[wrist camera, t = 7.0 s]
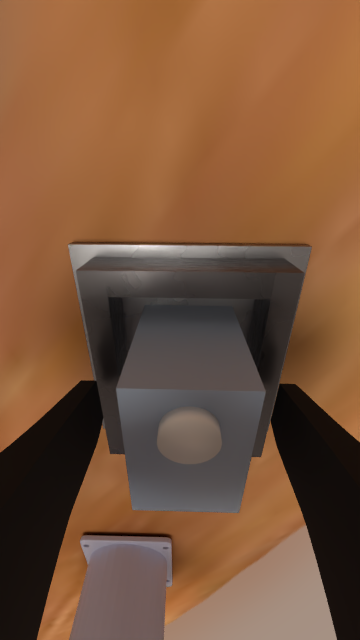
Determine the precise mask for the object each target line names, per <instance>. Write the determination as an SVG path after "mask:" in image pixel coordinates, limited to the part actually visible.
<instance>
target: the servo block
mask: <svg viewBox="0 0 360 640" xmlns="http://www.w3.org/2000/svg"><path fill="white" fill-rule="evenodd" d="M116 392H117V399H118V407H119V414H120V421H121V429H122V436H123V444H124V451H125V458H126V466H127V473H128V480H129V488H130V495H131V502H132V510H154V511H190V512H225V513H239V511H240V506H241V501H242V497H243V492H244V488H245V483H246V479H247V474H248V470H249V465H250V461H251V456H252V452H253V447H254V443H255V438H256V434H257V429H258V425H259V420H260V416H261V411H262V407H263V402H264V398H265V393H266V391H265V388H264V386H263V383H262V381H261V378H260V375H259V373H258V370H257V368H256V365H255V363H254V360H253V358H252V355H251V353H250V350H249V348H248V345H247V343H246V340H245V337H244V335H243V332H242V330H241V327H240V325H239V322H238V320H237V317H236V315H235V312H234V310H233V307H232V306H192V305H145V306H144V309H143V312H142V315H141V318H140V320H139V323H138V326H137V329H136V332H135V335H134V338H133V341H132V344H131V346H130V349H129V352H128V355H127V358H126V361H125V364H124V367H123V369H122V372H121V375H120V378H119V381H118V384H117V387H116Z"/></svg>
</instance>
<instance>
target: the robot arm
mask: <svg viewBox="0 0 360 640" xmlns="http://www.w3.org/2000/svg"><path fill="white" fill-rule="evenodd" d="M102 422H103V412H102V407H101V402H100V396H99V391H98V386H97V381H82V380H81V381H80V382H79V383H78V384H77V385H76V386H75V387H74V388H73V389H72V390H71V391H69V392H68V393H67V394H66V395H65V396H64V397H63V398H62V399H61V400H60V401H59V402H58V403H57V404H56V405H55V406H54V407H53V408H52V409H50V410H49V411H48V412H47V413H46V414H45V415H44V416H43V417H42V418H41V419H40V420H38V421H37V422H36V423H35V424H34V425H33V426H32V427H31V428H29V429H28V430H27V431H26V432H25V433H24V434H22V435H21V436H20V437H19V438H18V439H17V440H15V441H14V442H13V443H12V444H11V445H9V446H8V447H7V448H6V449H4V450H3V451H2V452H1V453H0V640H37V636H38V632H39V628H40V624H41V620H42V616H43V612H44V608H45V604H46V600H47V596H48V592H49V588H50V585H51V581H52V577H53V574H54V570H55V566H56V562H57V559H58V555H59V552H60V548H61V545H62V541H63V538H64V534H65V531H66V527H67V524H68V520H69V517H70V514H71V511H72V509H73V506H74V503H75V500H76V498H77V495H78V492H79V490H80V487H81V485H82V482H83V479H84V477H85V474H86V471H87V469H88V466H89V464H90V461H91V458H92V456H93V453H94V450H95V448H96V445H97V442H98V438H99V434H100V430H101V426H102ZM271 424H272V429H273V433H274V437H275V441H276V444H277V448H278V450H279V453H280V456H281V459H282V461H283V464H284V467H285V469H286V472H287V474H288V477H289V480H290V482H291V485H292V487H293V490H294V493H295V495H296V498H297V501H298V503H299V506H300V508H301V511H302V514H303V517H304V520H305V523H306V526H307V529H308V532H309V536H310V539H311V543H312V546H313V550H314V553H315V556H316V560H317V563H318V567H319V571H320V575H321V579H322V582H323V586H324V590H325V593H326V597H327V601H328V605H329V609H330V613H331V617H332V621H333V625H334V629H335V633H336V637H337V640H360V442H359V441H357V440H356V439H355V438H354V437H353V436H352V435H350V434H349V433H348V432H347V431H346V430H345V429H344V428H342V427H341V426H340V425H339V424H338V423H337V422H336V421H335V420H333V419H332V418H331V417H330V416H329V415H328V414H327V413H326V412H325V411H324V410H323V409H322V408H320V407H319V406H318V405H317V404H316V403H315V402H314V401H313V400H312V399H311V398H310V397H309V396H308V395H307V394H306V393H305V392H303V391H302V390H301V389H300V388H299V387H298V386H297V385H296V384H279V388H278V392H277V397H276V401H275V405H274V409H273V413H272V417H271ZM80 544H81V546H82V549H83V552H84V555H85V557H86V560H87V563H88V568H87V572H86V576H85V580H84V584H83V587H82V591H81V595H80V599H79V603H78V607H77V611H76V615H75V619H74V622H73V626H72V630H71V634H70V638H69V640H164V622H165V601H166V587H170V586H172V542H171V539H170V538H168V537H139V536H100V535H84V536H82V537H81V540H80Z"/></svg>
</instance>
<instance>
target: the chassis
mask: <svg viewBox="0 0 360 640" xmlns="http://www.w3.org/2000/svg"><path fill="white" fill-rule="evenodd" d="M68 247H69V252H70V258H71V263H72V268H73V273H74V278H75V283H76V289H77V294H78V299H79V304H80V309H81V315H82V320H83V325H84V330H85V335H86V340H87V346H88V351H89V356H90V361H91V366H92V371H93V377H94V381H97V386H98V391H99V396H100V402H101V407H102V412H103V422H102V423H103V428H105V429H106V434H107V439H108V445H109V450H110V454H125V451H124V444H123V436H122V429H121V421H120V414H119V407H118V399H117V392H116V387H117V384H118V381H119V378H120V375H121V372H122V369H123V367H124V364H125V361H126V358H127V355H128V352H129V349H130V346H131V344H132V341H133V338H134V335H135V332H136V329H137V326H138V323H139V320H140V318H141V315H142V312H143V309H144V306H145V305H192V306H232V307H233V310H234V312H235V315H236V317H237V320H238V322H239V325H240V327H241V330H242V332H243V335H244V337H245V340H246V343H247V345H248V348H249V350H250V353H251V355H252V358H253V360H254V363H255V365H256V368H257V370H258V373H259V375H260V378H261V381H262V383H263V386H264V388H265V391H266V393H265V398H264V402H263V407H262V411H261V416H260V420H259V425H258V429H257V434H256V438H255V443H254V447H253V452H252V456H251V457H261V455H262V451H263V447H264V442H265V438H266V434H267V432H268V428H269V424H270V420H271V415H272V411H273V407H274V403H275V399H276V395H277V390H278V386H279V382H280V378H281V374H282V370H283V365H284V361H285V357H286V353H287V349H288V344H289V340H290V336H291V332H292V328H293V324H294V319H295V315H296V311H297V307H298V303H299V299H300V294H301V290H302V286H303V282H304V278H305V273H306V269H307V265H308V261H309V257H310V253H311V248H312V246H309V245H307V244H222V243H110V242H72V243H70V244H68Z"/></svg>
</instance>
